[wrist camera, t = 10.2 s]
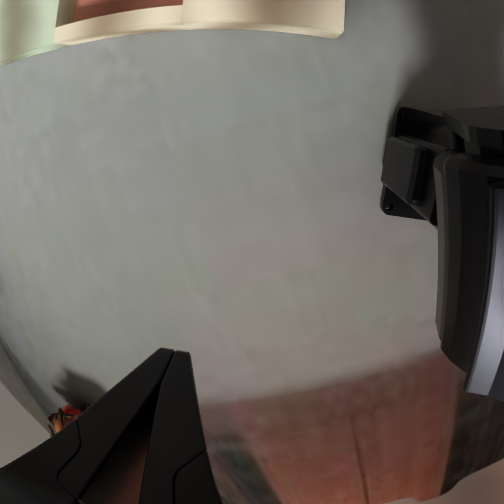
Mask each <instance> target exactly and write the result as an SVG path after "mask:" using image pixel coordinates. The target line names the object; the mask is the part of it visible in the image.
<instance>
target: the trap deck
mask: <svg viewBox="0 0 504 504" xmlns="http://www.w3.org/2000/svg"><path fill="white" fill-rule="evenodd" d="M344 12H345V0H0V66H3V65H6V64H9V63H12V62H14V61H17V60H21V59H24V58H27V57H30V56H33V55H37V54H40V53H44V52H47V51H51V50H55V49H59V48H63V47H67V46H71V45H75V44H80V43H85V42H90V41H95V40H100V39H106V38H112V37H118V36H125V35H132V34H141V33H150V32H160V31H174V30H193V29H244V30H263V31H277V32H287V33H297V34H305V35H313V36H320V37H326V38H332V39H336V38H338V37H339V36H340V35H341V34H342V33H343V30H344Z"/></svg>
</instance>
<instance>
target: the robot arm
mask: <svg viewBox="0 0 504 504" xmlns="http://www.w3.org/2000/svg"><path fill="white" fill-rule="evenodd" d="M403 111H404V112H405V113H406V118H405V119H402V117H401V113H402V112H403ZM442 114H443V117H440V116H437V115H433V114H430V113H426V112H423V111H419V110H415V109H411V108H407V107H399V108H397V109H396V111H395V114H394V123H393V130H392V136H391V137H390V138H389V139H387V145H386V151H385V158H384V164H383V170H382V176H381V181H382V182H383V184H384V187H383V192H382V197H381V202H380V208H381V210H382V211H383V212H384V213H385V214H387V215H393V216H400V217H407V218H413V219H420V220H427V221H428V222H430V223H431V224H432V225H433V226H434V227H435V228H436V229H437V230H438V290H437V308H436V326H437V330H438V334H439V338H440V340H441V349H442V351H443V352H444V353H445V355H446V356H447V357H448V359H449V360H450V361H451V362H453V363H454V364H455V365H456V366H458V367H459V368H460V369H461V370H463V371H464V372H466V373H467V374H466V378H465V381H464V385H463V389H464V391H466V392H471V393H476V394H482V395H488V396H490V397H493V398H495V399H498V400H500V401H502V402H504V106H497V107H481V108H468V109H457V110H447V111H442ZM388 203H391V207H390V208H389V209H386V205H387V204H388ZM0 504H223V502H222V499H221V497H220V494H219V491H218V489H217V486H216V483H215V480H214V476H213V473H212V469H211V465H210V460H209V456H208V452H207V447H206V442H205V437H204V431H203V426H202V421H201V415H200V410H199V404H198V398H197V393H196V387H195V380H194V374H193V368H192V361H191V355H190V353H189V352H185V351H179V350H177V351H174V350H173V349H168V348H159V349H158V350H157V351H156V352H154V353H153V354H152V355H151V356H150V357H148V358H147V359H146V360H145V361H144V362H143V363H141V364H140V365H139V366H138V367H137V368H135V369H134V370H133V371H132V372H131V373H129V374H128V375H127V376H126V377H125V378H123V379H122V380H121V381H120V382H119V383H117V384H116V385H115V386H114V387H113V388H111V389H110V390H109V391H108V392H107V393H105V394H104V395H103V396H102V397H101V398H99V399H98V400H97V401H96V402H95V403H93V404H92V405H91V406H90V407H89V408H87V409H86V410H85V411H84V412H82V413H81V414H80V415H79V416H78V417H77V420H76V419H74V420H73V421H71V422H70V423H69V424H68V425H66V426H65V427H64V428H63V429H61V430H60V431H59V432H57V433H56V434H55V435H54V436H52V437H51V438H49V439H48V440H46V441H45V442H43V443H42V444H40V445H39V446H37V447H36V448H34V449H32V450H31V451H29V452H27V453H26V454H24V455H22V456H21V457H19V458H17V459H16V460H14V461H12V462H11V463H9V464H7V465H6V466H4V467H2V468H0Z"/></svg>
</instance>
